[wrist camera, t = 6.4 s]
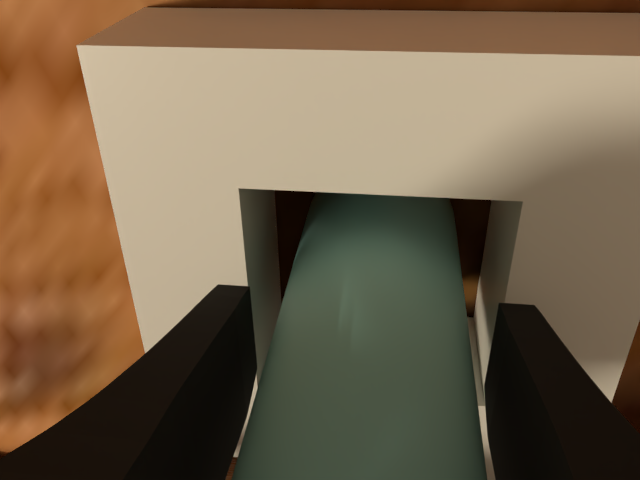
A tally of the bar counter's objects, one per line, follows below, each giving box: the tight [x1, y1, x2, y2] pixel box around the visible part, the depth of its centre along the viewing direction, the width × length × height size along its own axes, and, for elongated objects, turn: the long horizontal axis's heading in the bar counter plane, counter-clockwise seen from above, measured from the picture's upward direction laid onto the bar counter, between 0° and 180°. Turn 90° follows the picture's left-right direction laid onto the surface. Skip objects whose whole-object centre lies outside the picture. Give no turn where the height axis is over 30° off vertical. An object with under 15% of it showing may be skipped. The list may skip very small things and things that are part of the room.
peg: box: [231, 192, 487, 480], centre depth 11 cm, size 4×4×9 cm
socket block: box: [76, 7, 640, 480], centre depth 13 cm, size 10×10×3 cm
